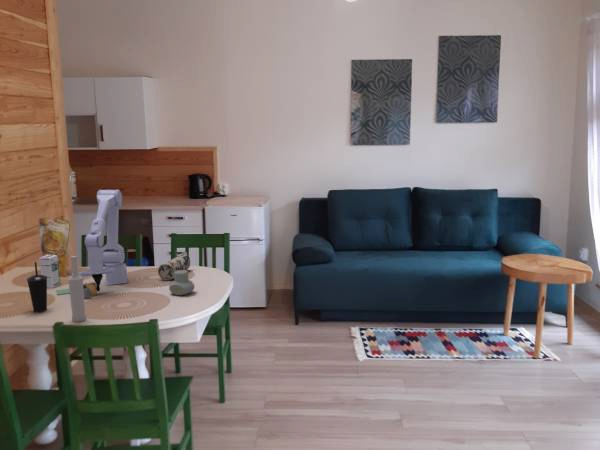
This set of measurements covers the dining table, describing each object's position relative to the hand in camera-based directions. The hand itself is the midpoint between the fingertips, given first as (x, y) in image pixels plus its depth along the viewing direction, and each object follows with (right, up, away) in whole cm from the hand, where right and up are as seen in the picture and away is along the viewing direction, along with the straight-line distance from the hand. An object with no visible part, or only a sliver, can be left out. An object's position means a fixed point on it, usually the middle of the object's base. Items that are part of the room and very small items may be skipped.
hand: (98, 290), depth 247 cm
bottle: (+4, -8, -32) cm, 33 cm away
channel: (-6, -2, -3) cm, 7 cm away
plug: (-5, -2, -2) cm, 5 cm away
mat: (-16, -1, +4) cm, 17 cm away
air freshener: (+37, -1, 0) cm, 37 cm away
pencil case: (+28, +4, +29) cm, 40 cm away
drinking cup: (-16, -6, -21) cm, 27 cm away
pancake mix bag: (-33, +4, +33) cm, 47 cm away
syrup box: (-26, 0, +13) cm, 29 cm away
